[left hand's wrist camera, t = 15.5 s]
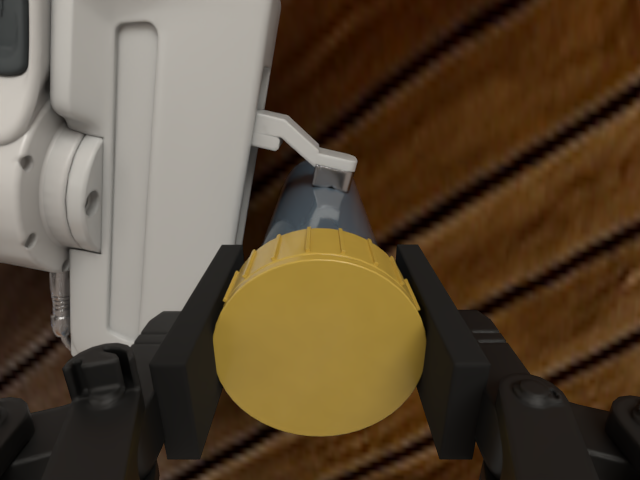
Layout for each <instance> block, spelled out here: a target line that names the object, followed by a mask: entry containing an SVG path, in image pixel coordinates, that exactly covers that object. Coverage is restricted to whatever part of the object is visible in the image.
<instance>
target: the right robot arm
mask: <svg viewBox="0 0 640 480" xmlns="http://www.w3.org/2000/svg"><path fill="white" fill-rule="evenodd" d="M280 11H281V2H280V0H0V263H6V264H11V265H17V266H22V267H27V268H32V269H37V270H42V271H48V272H49V287H50V293H51V298H52V306H53V308H52V312H51V328H52V331H53V334H54V335H55V336H57V337H61V340H62V342H63V343H64V345H65V346H66V347H67V349H68V350H70V351H71V354H72V356H73V357H74V356H75V355H77V354H78V353H80V352H82V351H84V350H86V349H89V348H91V347H94V346H98V345H102V344H105V343H121V344H126V345H128V346H129V347H131V345H132V344H134V341H135V340H136V338H137V337H138V336H139V335H141V332H142V330H143V329H144V327H145V326H146V325H147V323H148V322H149V321H150V320H151V319H153V318H154V317H155V316H157V315H158V314H160V313H161V312H163V311H182V309H183V307H184V306H185V304H186V302H187V301H188V299H189V298H190V296H191V294H192V293H193V291H194V289H195V288H196V286H197V284H198V283H199V281H200V279H201V278H202V276H203V275H204V273H205V271H206V270H207V268H208V266H209V265H210V263H211V261H212V260H213V258H214V256H215V255H216V253H217V252H218V250H219V248H220V247H221V245H242V243H243V237H244V231H245V225H246V218H247V212H248V206H249V200H250V194H251V188H252V182H253V176H254V170H255V164H256V157H257V151H258V147H259V148H264V149H269V150H273V151H276V150H277V149H279V147H280V146H281V144H282V143H283V140H284V141H285V142H286V143H288V144H289V145H290V146H291V147H292V148H293V149H294V150H295V151H297V152H298V153H299V154H300V155H301V156H302V157H303V158H305V159H306V160H307V161H308V162H309V163H310V164H311V165H312V166H314V167H315V168H314V173H313V179H312V185H314V186H318V187H324V188H328V187H331V186H332V187H333V188H334V189H335V190H338V191H341V192H349V190H350V187H351V183H352V180H353V176H354V173H355V168H356V165H357V159H356V157H354V156H352V155H349V154H346V153H341V152H337V151H333V150H328V149H324V148H320V147H319V144H318V143H317V142H316V141H315V140H314V139H313V138H312V137H310V136H309V135H308V134H307V133H306V132H305V131H304V130H303V129H302V128H301V127H300V126H299V125H298V124H297V123H296V122H295V121H293V120H292V119H291V118H290V117H289V116H288V115H284V114H280V113H275V112H271V111H267V110H264V109H265V103H266V97H267V90H268V84H269V78H270V72H271V66H272V60H273V54H274V48H275V42H276V36H277V29H278V23H279V17H280ZM69 335H71V338H70V336H69Z"/></svg>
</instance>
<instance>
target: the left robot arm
mask: <svg viewBox="0 0 640 480" xmlns="http://www.w3.org/2000/svg"><path fill="white" fill-rule="evenodd" d="M243 264H244V257H243V245H221V247H220V248H219V250H218V252H217V253H216V255H215V256H214V258H213V260H212V261H211V263H210V265H209V266H208V268H207V270H206V271H205V273H204V275H203V276H202V278H201V279H200V281H199V283H198V284H197V286H196V288H195V289H194V291H193V293H192V294H191V296H190V298H189V299H188V301H187V302H186V304H185V306H184V307H183V309H182V311H163V312H161V313H160V314H158V315H157V316H155V317H154V318H153V319H151V320H150V321H149V322H148V323H147V325H146V326H145V327H144V329H143V330H142V332H141V335H139V336H138V337H137V338H136V340H135V341H134V344H132V345H131V347H129V346H128V345H126V344H121V343H105V344H102V345H98V346H94V347H91V348H89V349H86V350H84V351H82V352H80V353H78V354H77V355H75V356H74V357H73V358H71V359H70V360H69V361H68V362H67V363H66V365H65V366H64V367H63V368H62V370H63V373H64V376H65V380H66V383H67V386H68V390H69V393H70V396H71V400H72V402H71V404H67V405H64V406H60V407H56V408H52V409H47V410H43V411H39V412H34V413H30V410H29V408H28V405H27V403H26V402H25V401H23V400H22V399H20V398H12V397H8V398H2V399H0V480H159V469H158V463H157V457H158V455H159V453H160V450H161V448H162V446H163V443H164V444H165V449H166V454H167V459H200V457H201V454H202V451H203V448H204V445H205V442H206V439H207V435H208V432H209V429H210V426H211V423H212V420H213V417H214V414H215V410H216V407H217V404H218V401H219V398H220V395H221V392H222V388H223V386H222V384H221V382H220V380H219V378H218V375H217V370H216V362H215V354H214V346H213V333H214V329H215V325H216V322H217V320H218V317H219V315H220V313H221V310H222V308H223V306H224V303H225V302H224V301H223V298H224V296H225V294H226V292H227V289H228V287H229V285H230V283H231V280H232V278H233V276H234V274H235V272H236V271H238V272H239V270H240V269H241V267H242V266H243ZM396 265H397V267H398V269H399V270H400V272H401V274H402V276H403V278H404V279H407V280H408V282H409V285H410V287H411V289H412V291H413V293H414V296H415V298H416V300H417V302H418V305H419V307H420V309H421V310H419V311H418V312H419V314H420V317H421V319H422V322H423V325H424V329H425V333H426V349H425V358H424V366H423V372H422V375H421V378H420V380H419V382H418V384H417V386H416V387H417V390H418V393H419V396H420V399H421V402H422V405H423V408H424V412H425V415H426V418H427V421H428V424H429V427H430V430H431V434H432V437H433V440H434V443H435V446H436V449H437V452H438V456H439V459H472V457H473V452H474V447H475V442H477V445H478V447H479V449H480V452H481V454H482V456H483V463H482V468H481V473H480V478H479V480H640V397H637V396H622V397H618V398H617V399H616V400H615V401H613V403H612V406H611V409H610V412H609V411H604V410H600V409H595V408H591V407H587V406H582V405H578V404H574V403H571V402H569V401H568V400H567V398H566V397H565V395H564V394H563V392H562V391H561V390H560V389H558V388H557V387H556V386H555V385H553V384H552V383H550V382H548V381H546V380H545V379H543V378H541V377H538V376H534V375H531V374H530V373H529V372H528V371H527V369H526V368H525V366H524V365H523V364H522V362H521V361H520V359H519V358H518V357H517V355H516V354H515V353H514V351H513V350H512V348H511V347H510V346H509V344H508V343H506V340H505V339H504V337H503V336H502V335H501V333H499V330H498V329H497V328H496V326H495V325H494V324H493V322H492V321H491V320H490V319H489V318H488V317H486V316H485V315H483V314H482V313H480V312H479V311H478V310H457V308H456V306H455V305H454V303H453V302H452V300H451V298H450V297H449V295H448V293H447V292H446V290H445V288H444V287H443V285H442V283H441V282H440V280H439V279H438V277H437V275H436V274H435V272H434V270H433V269H432V267H431V265H430V264H429V262H428V260H427V259H426V257H425V256H424V254H423V252H422V251H421V249H420V247H419V246H418V245H397V251H396Z"/></svg>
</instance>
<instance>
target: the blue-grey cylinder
mask: <svg viewBox="0 0 640 480" xmlns="http://www.w3.org/2000/svg"><path fill="white" fill-rule="evenodd" d="M314 168H315V167H314V166H312V165H311V164H310V163H309V162H308V161H307V160H306V161H303V162H301V163H300V164H298V165H297V166H295V167H294V168H293V169H292V170H291V171H290V173H289V174H288V175H287V177H286V179H285V182H284V185H283V187H282V190H281V193H280V196H279V198H278V201H277V204H276V207H275V209H274V212H273V215H272V218H271V221H270V223H269V226H268V229H267V232H266V234H265V237H264V240H263V243H262V246H263V245H264V244H266V243H267V242H269V241H271V240H273V239H275V238H276V237H277V235H278V234H281V235H284V234H287V233H290V232H293V231H298V230H303V229H307V227H311V229H312V228H328V229H335V230H338V229H339V228H342V230H343V231H345V232H349V233H352V234H355V235H358V236H360V237H362V238H364V239H366V240H367V239H368V238H369V239H371V241H372V243H373V244H375V245H376V246H378V245H377V242H376V239H375V237H374V234H373V231H372V228H371V226H370V223H369V220H368V217H367V214H366V212H365V209H364V206H363V203H362V201H361V198H360V195H359V192H358V189H357V187H356V184H355V181H354V179H353V180H352V183H351V187H350V190H349V192H341V191H338V190H335V189H334V188H333V187H332V186H331V187H328V188H324V187H318V186H314V185H312V179H313V173H314ZM262 246H261V247H262Z"/></svg>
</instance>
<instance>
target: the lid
mask: <svg viewBox="0 0 640 480" xmlns="http://www.w3.org/2000/svg"><path fill="white" fill-rule="evenodd" d="M223 301H224V302H225V303H224V306H223V308H222V310H221V313H220V315H219V317H218V320H217V322H216V325H215V329H214V333H213V346H214V354H215V362H216V370H217V375H218V378H219V380H220V382H221V384H222V386H223V387H224V389H225V391H226V392H227V393H228V395H229V396H230V397H231V399H232V400H233V401H234V402H235V403H236V404H237V405H238V406H239V407H240V408H241V409H242V410H244V411H245V412H246V413H247V414H249V415H250V416H251V417H253V418H255V419H256V420H258V421H260V422H261V423H264V424H266V425H268V426H270V427H272V428H275V429H278V430H281V431H284V432H288V433H292V434H297V435H305V436H335V435H341V434H347V433H351V432H354V431H358V430H361V429H364V428H366V427H369V426H371V425H373V424H375V423H377V422H379V421H381V420H383V419H384V418H386V417H387V416H389V415H390V414H392V413H393V412H394V411H395V410H396V409H398V408H399V407H400V406H401V405H402V404H403V403H404V402H405V401H406V400H407V398H408V397H409V396H410V395H411V393H412V392H413V390H414V389H415V388H416V386H417V384H418V382H419V380H420V378H421V375H422V372H423V366H424V358H425V349H426V333H425V329H424V325H423V322H422V319H421V317H420V314H419V312H418V311H419V310H421V309H420V307H419V305H418V302H417V300H416V298H415V296H414V293H413V291H412V289H411V287H410V285H409V282H408V280H407V279H404V278H403V276H402V274H401V272H400V270H399V269H398V267H397V265H396V262H395V260H394V258H393V257H392V256H391V257H389V256H388V255H387V254H386V253H385V252H384V251H383V250H381V249H380V248H379V247H378V246H376V245H375V244H373V243H372V241H371V239H369V238H368V239H367V240H366V239H364V238H362V237H360V236H358V235H355V234H352V233H349V232H345V231H343V230H342V228H339V229H338V230H335V229H328V228H312V229H311V227H307V229H303V230H298V231H293V232H290V233H287V234H284V235H281V234H278V235H277V237H276V238H275V239H273V240H271V241H269V242H267V243H266V244H264V245H263V246H262V247H260V248H259V249H258V250H255V249H254V250H253V251H252V252H251V255H250V257H249V258H248V259H247V261H246V262H245V263H244V264H243V266H242V267H241V269H240V270H239V272H238V271H236V272H235V274H234V276H233V278H232V280H231V283H230V285H229V287H228V289H227V292H226V294H225V296H224V298H223Z"/></svg>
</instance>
